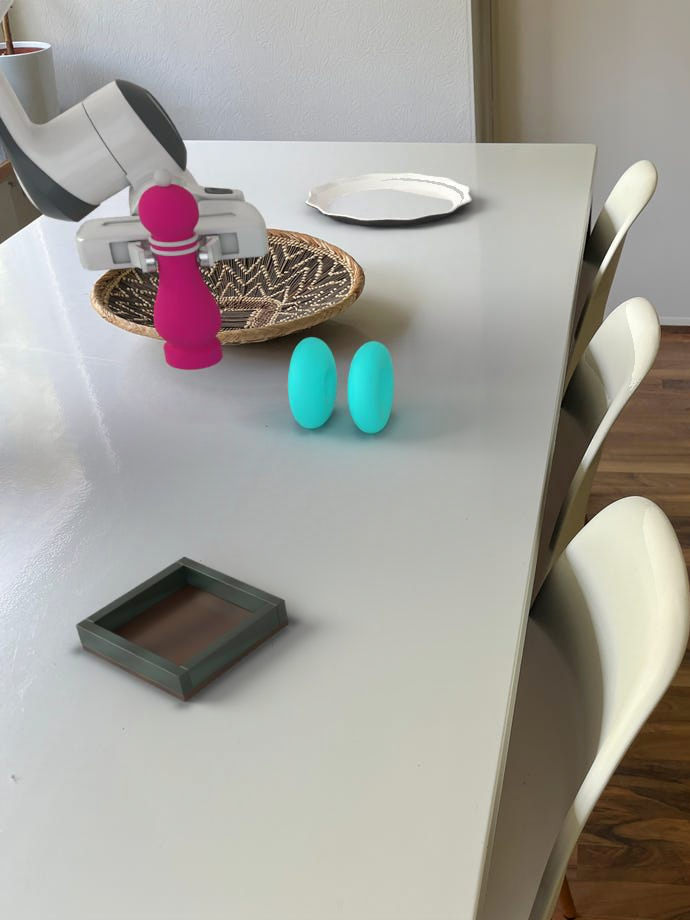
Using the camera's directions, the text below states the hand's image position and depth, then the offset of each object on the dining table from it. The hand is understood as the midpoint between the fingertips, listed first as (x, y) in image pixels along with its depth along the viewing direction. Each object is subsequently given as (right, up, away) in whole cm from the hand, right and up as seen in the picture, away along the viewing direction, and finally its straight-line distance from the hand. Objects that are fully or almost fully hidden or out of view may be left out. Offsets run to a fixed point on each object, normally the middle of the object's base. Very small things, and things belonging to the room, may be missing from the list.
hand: (178, 262), depth 107 cm
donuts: (+16, -15, +10) cm, 25 cm away
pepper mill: (0, -8, +8) cm, 11 cm away
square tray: (+7, -40, -21) cm, 45 cm away
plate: (+16, +38, +77) cm, 88 cm away
